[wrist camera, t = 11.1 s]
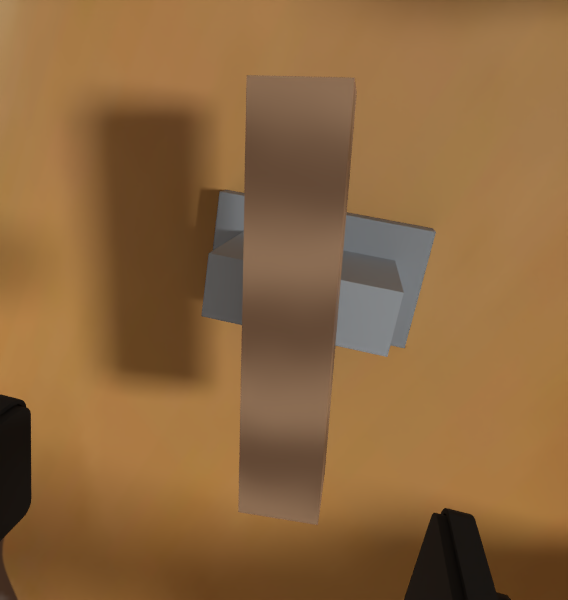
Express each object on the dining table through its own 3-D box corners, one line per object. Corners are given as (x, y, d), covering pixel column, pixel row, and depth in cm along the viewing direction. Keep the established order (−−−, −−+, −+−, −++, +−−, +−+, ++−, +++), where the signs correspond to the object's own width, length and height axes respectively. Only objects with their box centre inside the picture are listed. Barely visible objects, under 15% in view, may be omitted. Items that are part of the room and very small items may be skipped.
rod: (324, 472, 27) (317, 524, 23) (256, 462, 27) (238, 512, 24) (356, 91, 21) (354, 77, 17) (267, 89, 21) (246, 75, 18)
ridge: (402, 340, 33) (415, 403, 25) (212, 299, 35) (163, 346, 26) (432, 228, 31) (458, 256, 22) (226, 189, 32) (175, 202, 24)
